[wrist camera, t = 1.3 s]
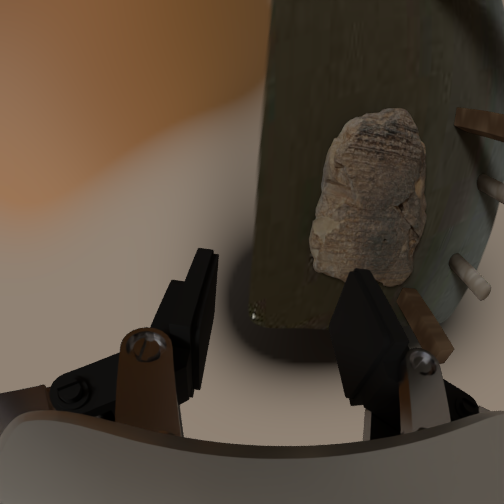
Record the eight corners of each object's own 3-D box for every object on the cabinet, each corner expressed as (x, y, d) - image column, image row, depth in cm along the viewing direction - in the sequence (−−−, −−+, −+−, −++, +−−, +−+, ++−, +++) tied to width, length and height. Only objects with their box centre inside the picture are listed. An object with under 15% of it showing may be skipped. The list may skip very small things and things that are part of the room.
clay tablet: (325, 92, 23) (298, 268, 32) (340, 87, 19) (304, 292, 28) (435, 125, 24) (397, 275, 33) (461, 130, 19) (413, 296, 29)
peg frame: (456, 107, 22) (529, 120, 11) (498, 133, 22) (562, 155, 11) (396, 301, 35) (430, 364, 24) (438, 304, 35) (474, 358, 24)
